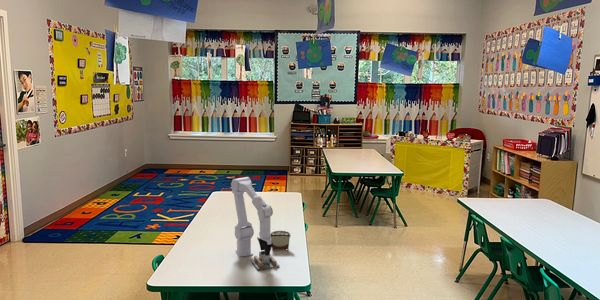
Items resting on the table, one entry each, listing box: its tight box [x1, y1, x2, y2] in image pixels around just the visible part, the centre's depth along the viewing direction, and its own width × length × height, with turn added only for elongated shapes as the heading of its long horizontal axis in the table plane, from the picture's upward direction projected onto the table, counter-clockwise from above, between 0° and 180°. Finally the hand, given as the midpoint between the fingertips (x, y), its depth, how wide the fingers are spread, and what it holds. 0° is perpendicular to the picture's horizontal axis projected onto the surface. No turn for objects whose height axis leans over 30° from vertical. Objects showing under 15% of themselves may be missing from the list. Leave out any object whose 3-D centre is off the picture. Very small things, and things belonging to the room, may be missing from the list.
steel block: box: [258, 250, 271, 265], centre depth 238 cm, size 4×4×6 cm
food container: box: [270, 230, 292, 251], centre depth 262 cm, size 12×6×10 cm, turn 92°
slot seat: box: [250, 254, 280, 272], centre depth 239 cm, size 12×12×4 cm
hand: (265, 252), depth 238 cm, fingers open, 7 cm apart
